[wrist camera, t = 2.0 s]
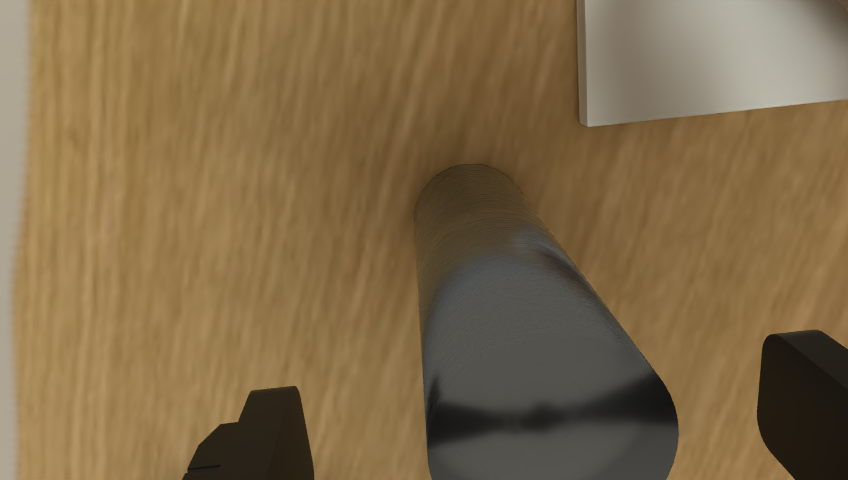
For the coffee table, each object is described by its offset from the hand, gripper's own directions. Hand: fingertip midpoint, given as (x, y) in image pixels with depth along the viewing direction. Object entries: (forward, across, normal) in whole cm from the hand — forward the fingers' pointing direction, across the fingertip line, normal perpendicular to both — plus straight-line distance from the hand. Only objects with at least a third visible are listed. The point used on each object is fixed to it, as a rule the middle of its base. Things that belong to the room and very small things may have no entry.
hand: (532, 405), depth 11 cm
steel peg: (+12, 0, 0) cm, 12 cm away
